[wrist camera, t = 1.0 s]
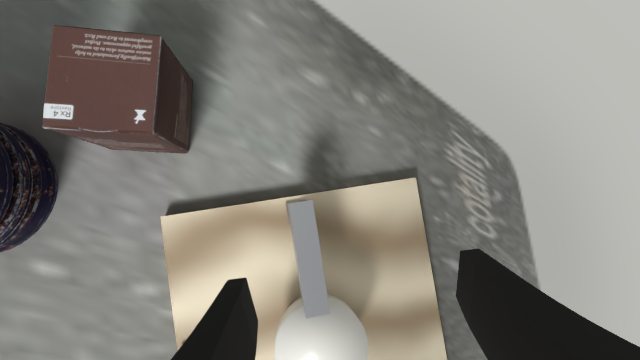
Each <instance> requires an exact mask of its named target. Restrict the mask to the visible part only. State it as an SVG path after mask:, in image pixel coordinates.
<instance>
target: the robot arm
mask: <svg viewBox="0 0 640 360" xmlns="http://www.w3.org/2000/svg"><path fill="white" fill-rule="evenodd" d="M456 297H457V300H458V302H459V305H460V307H461V310H462V312H463V314H464V317H465V319H466V321H467V323H468V326H469V327H470V329H471V331H472V333H473V335H474V336H475V338H476V340H477V342H478V343H479V345H480V347H481V349H482V350H483V352H484V354H485V356H486V357H487V359H488V360H640V347H638V346H636V345H634V344H632V343H630V342H628V341H626V340H624V339H623V338H620V337H619V336H617V335H615V334H613V333H611V332H609V331H607V330H606V329H604V328H602V327H600V326H598V325H596V324H595V323H593V322H591V321H589V320H587V319H586V318H584V317H582V316H580V315H579V314H577V313H575V312H574V311H572V310H570V309H569V308H567V307H566V306H564V305H562V304H560V303H559V302H557V301H555V300H554V299H552V298H551V297H549V296H547V295H546V294H545V293H543V292H542V291H540V290H539V289H537V288H535V287H534V286H532V285H531V284H529V283H528V282H526V281H525V280H524V279H522V278H521V277H519V276H518V275H516V274H515V273H513V272H512V271H510V270H509V269H508V268H506V267H505V266H503V265H502V264H500V263H499V262H497V261H496V260H495V259H493V258H492V257H490V256H489V255H487V254H486V253H484V252H483V251H481V250H480V249H472V250H464V251H460V260H459V270H458V281H457V291H456ZM257 334H258V318H257V315H256V311H255V307H254V304H253V300H252V296H251V293H250V289H249V286H248V282H247V278H238V279H230V280H228V281H227V282H226V283H225V284H224V286H223V288H222V289H221V291H220V292H219V294H218V295H217V297H216V298H215V300H214V301H213V303H212V304H211V306H210V307H209V309H208V310H207V312H206V313H205V314H204V316H203V317H202V319H201V320H200V322H199V323H198V324H197V326H196V327H195V329H194V330H193V331H192V333H191V334H190V336H189V337H188V338H187V340H186V341H185V342H184V343H183V345H182V346H181V347H180V349H179V350H178V351H177V352H176V354H175V355H174V356H173V358H172V359H171V360H255V357H256V349H257Z"/></svg>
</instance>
